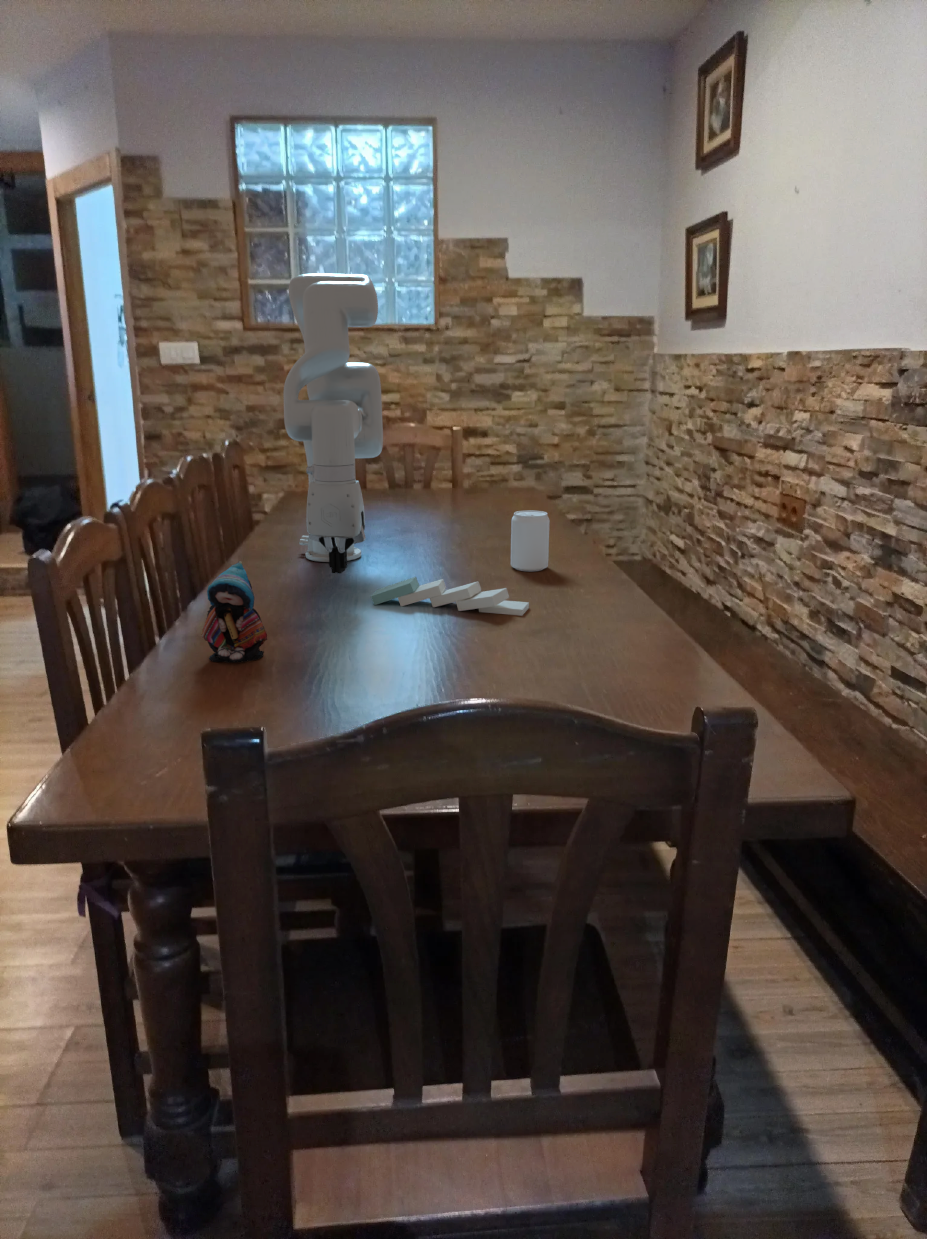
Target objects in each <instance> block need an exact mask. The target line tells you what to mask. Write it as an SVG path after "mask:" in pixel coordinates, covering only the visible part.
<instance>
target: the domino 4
mask: <svg viewBox="0 0 927 1239" xmlns="http://www.w3.org/2000/svg"><path fill="white" fill-rule="evenodd" d="M509 599H510V595H509V591H508V588H507V587H504V588H497V589H491V590H486V591H485V590H484V591H480V592H478V593H477V594H475V595H474V596H472V597H471V598H467V599H463V600H460V601H456V602H455V603H456V606H457V611H459V612H462V611H469V610H470V611H471V610H475V609H477V610H479V608H485V607H492V606H496V605H498V604H499V603H501V602H503V601H504V600H505V601H507V600H509Z"/></svg>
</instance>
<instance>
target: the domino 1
mask: <svg viewBox="0 0 927 1239" xmlns="http://www.w3.org/2000/svg"><path fill="white" fill-rule="evenodd" d="M418 586H420V584H419V581H418V578H417V576H413V577H410V578H407V579H404V580H401V581H398V582H395V583H392V584H390V585H386V586H383V587H380V588H378V589H376V590H375V591H374V592H373V593H372V594H371V595H370V598H371V601H372V603H373V605H374V606H376V605H379V604H382V603H386V602H388V601H391V600H394V599H398V597H401V596H404V595H407V594H410V593H413V592H414V591H415V590H416V589H417V588H418Z"/></svg>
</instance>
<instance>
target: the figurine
mask: <svg viewBox="0 0 927 1239" xmlns="http://www.w3.org/2000/svg"><path fill="white" fill-rule="evenodd" d="M206 595H207V600H208V601H209V603H210V607H209V610H207V614H206V620H205V621H204V624H203V628H202V632H201V634H200V635H201V637H202V638H203V639H204V641H206V642H207V643H208V645H209V647H210V649H211V650H212V652H214V653H213V654H211V655H210V656H209V657H208V660H209V661H210V662H213V663H215V662H216V663H220V662H221V663H247V662H250V661H256V660H259V659H262V658H263V657H264V653H265V651H264V650H260V647H261V646H263V644H264V643H265V642H266V641H267V640H268V633H267V631H266V628H265V626H264V624H263V622H262V619H261V617H260V615H259V613H258V611H257V610H256V609H255V608H254V607H255V605H254V604H255V593H254V591H253V587H252V583H251V581H250V580H249V577H248V574H247V571H246V570H245V568H244V565H243V562H242V561H240V560H238V562H237V563H234V564H232V565H230V567H229V568H227V569H226V570H224V571H223V572H222V573H219V575H218V576H216V578H215V579H213V581H212V583H211V584H209V585H208V587H207V589H206Z"/></svg>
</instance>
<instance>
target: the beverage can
mask: <svg viewBox="0 0 927 1239" xmlns="http://www.w3.org/2000/svg"><path fill="white" fill-rule="evenodd" d="M550 522H551V521H550V518H549V516H548V512H547V511H543V510H532V509H531V510H518V511H515V512H513V516H512V517H511V523H510V524H511V529H510V531H511V532H510V534H511V535H510V567H512V568H513V569H515V570H517V571H520V572H530V573H531V572H540V571H543V570H545V569H547V568H548V566H549V555H550V554H549V553H550V552H549V548H550V547H549V546H550Z"/></svg>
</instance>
